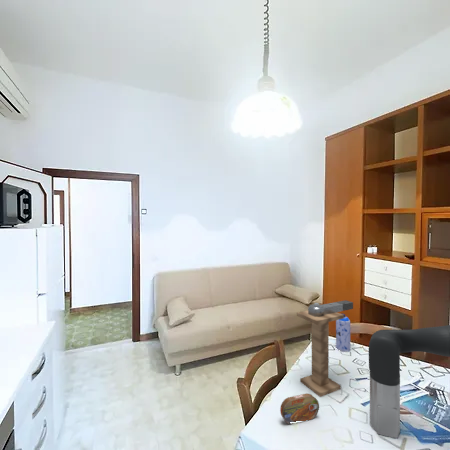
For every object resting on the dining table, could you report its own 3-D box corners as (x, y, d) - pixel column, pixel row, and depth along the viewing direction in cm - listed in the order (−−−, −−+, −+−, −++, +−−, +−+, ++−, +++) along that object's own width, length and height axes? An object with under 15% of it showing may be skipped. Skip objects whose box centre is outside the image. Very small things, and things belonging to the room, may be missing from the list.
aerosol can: (332, 346, 158) (333, 312, 158) (345, 345, 159) (345, 311, 159) (340, 352, 150) (340, 316, 150) (353, 351, 152) (353, 315, 152)
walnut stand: (322, 374, 129) (322, 307, 129) (343, 387, 118) (343, 315, 118) (296, 383, 122) (296, 312, 122) (316, 398, 111) (316, 321, 111)
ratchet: (344, 305, 131) (344, 295, 131) (354, 309, 126) (354, 298, 126) (306, 313, 120) (306, 302, 120) (316, 317, 115) (316, 306, 115)
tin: (283, 426, 96) (283, 403, 96) (279, 420, 99) (279, 397, 99) (319, 418, 100) (319, 395, 100) (314, 412, 103) (314, 390, 103)
